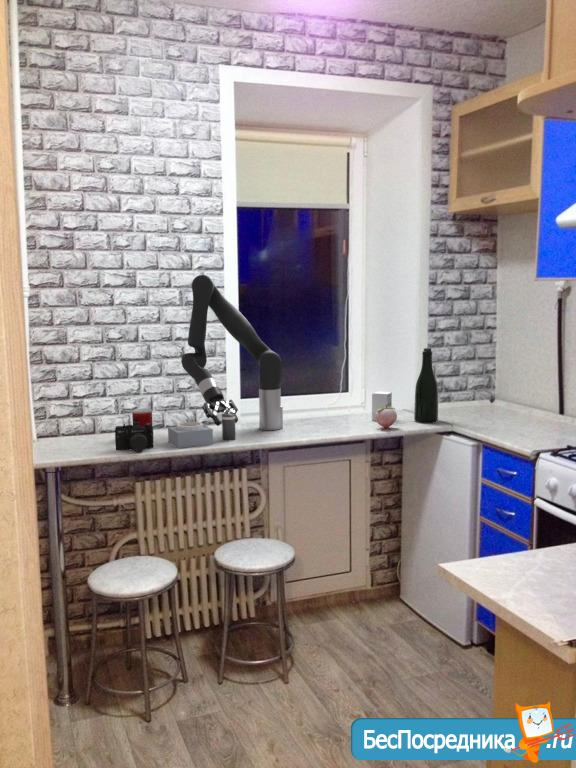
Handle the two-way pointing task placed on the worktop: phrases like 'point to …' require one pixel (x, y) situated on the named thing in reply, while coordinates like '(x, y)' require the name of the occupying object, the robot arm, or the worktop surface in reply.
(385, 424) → the decorative fruit
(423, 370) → the dark green wine bottle
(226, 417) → the lens
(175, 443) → the low grey box
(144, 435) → the camera
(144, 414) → the canned food
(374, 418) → the supplement box
